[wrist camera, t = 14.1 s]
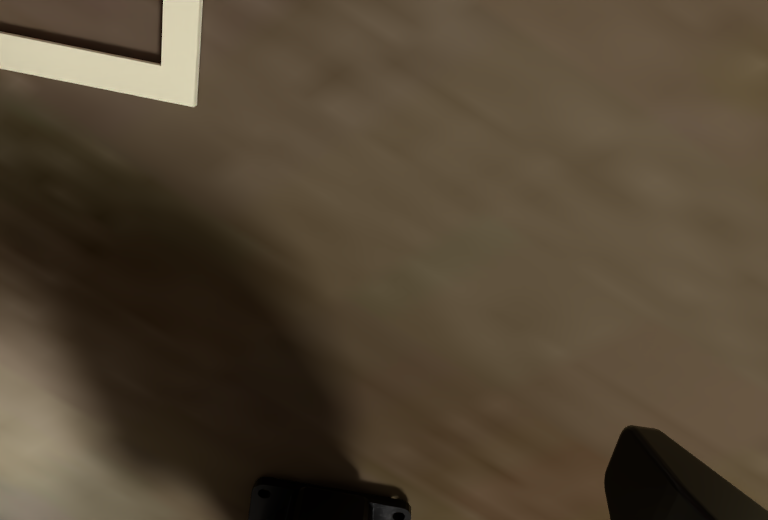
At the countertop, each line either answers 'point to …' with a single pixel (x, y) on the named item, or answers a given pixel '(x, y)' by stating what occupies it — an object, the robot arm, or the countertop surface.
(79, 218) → the countertop surface
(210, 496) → the countertop surface
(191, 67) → the print frame
